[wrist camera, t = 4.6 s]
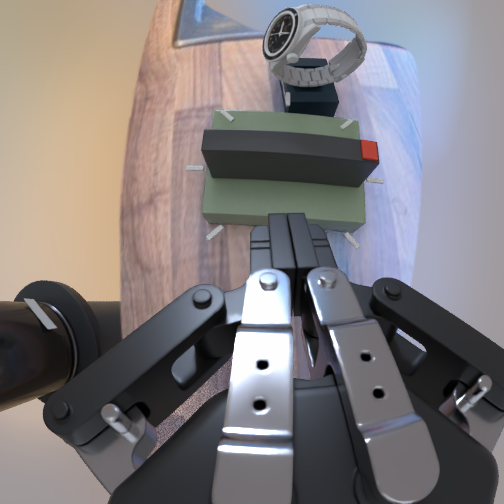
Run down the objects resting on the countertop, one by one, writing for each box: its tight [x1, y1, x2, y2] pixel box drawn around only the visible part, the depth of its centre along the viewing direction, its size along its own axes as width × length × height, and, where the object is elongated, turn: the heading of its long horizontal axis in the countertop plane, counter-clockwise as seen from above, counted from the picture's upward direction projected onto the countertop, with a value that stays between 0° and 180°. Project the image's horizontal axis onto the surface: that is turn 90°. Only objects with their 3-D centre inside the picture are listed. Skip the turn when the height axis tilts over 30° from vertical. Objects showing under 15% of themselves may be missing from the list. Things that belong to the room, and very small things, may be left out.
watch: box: [263, 4, 367, 117], centre depth 20 cm, size 6×8×11 cm
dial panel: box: [185, 92, 383, 250], centre depth 23 cm, size 15×15×3 cm
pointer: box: [201, 129, 379, 188], centre depth 19 cm, size 11×2×5 cm, turn 87°
